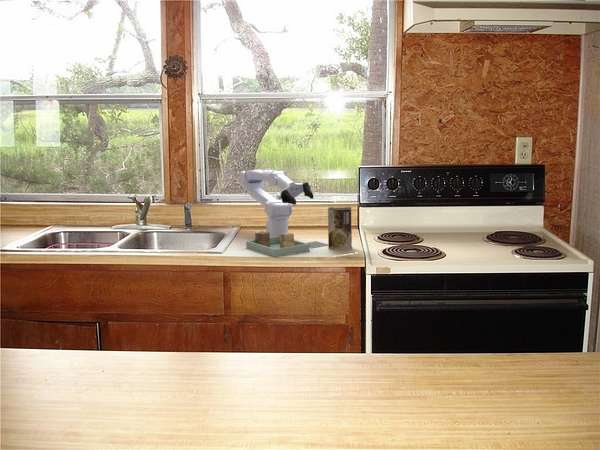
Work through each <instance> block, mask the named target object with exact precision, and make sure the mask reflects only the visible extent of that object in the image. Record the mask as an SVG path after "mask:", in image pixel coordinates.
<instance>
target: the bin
mask: <svg viewBox="0 0 600 450" xmlns="http://www.w3.org/2000/svg"><path fill="white" fill-rule="evenodd" d="M307 243H308V242H304V241H299V240H296V239H294V246H291V247H285V248H280V236H278V237H272V238H270V247H267V246H263V245H260V244H257V243H255V239H252V240H246V244H245V245H246V246H245V247H246V249H249V250H252V251H254V252H255V251H256V252H259V253H261V254H265V255H269V256H271V257H274V258H275V257H279V256H280V257H281V256H287V255H292V254H298V253H305V252H310V249H311V248H310V244H307Z"/></svg>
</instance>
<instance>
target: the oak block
mask: <svg viewBox="0 0 600 450" xmlns="http://www.w3.org/2000/svg"><path fill="white" fill-rule="evenodd" d="M279 235H280V248H285V247H291V246H294V240H295V234H294V233H291V232H289V231H288V232H287V233H280V234H279Z"/></svg>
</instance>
